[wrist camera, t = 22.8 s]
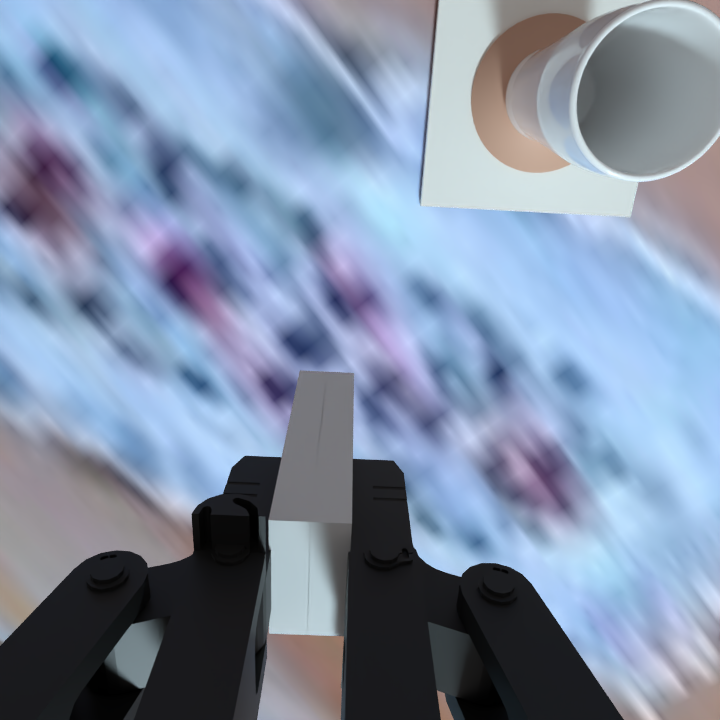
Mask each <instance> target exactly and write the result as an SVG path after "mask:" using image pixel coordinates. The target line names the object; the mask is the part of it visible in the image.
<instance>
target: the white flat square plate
mask: <svg viewBox="0 0 720 720" xmlns="http://www.w3.org/2000/svg"><path fill="white" fill-rule="evenodd" d="M646 1H650V0H438V8H437V19H436V30H435V42H434V53H433V64H432V75H431V86H430V98H429V109H428V120H427V131H426V142H425V154H424V165H423V176H422V187H421V198H420V206H429V207H448V208H467V209H486V210H505V211H523V212H542V213H561V214H580V215H599V216H618V217H631V213H632V208H633V204H634V199H635V195H636V190H637V186H638V182H634V181H625V180H620V179H614V178H609V177H605V176H601V175H597V174H594V173H591V172H588V171H586V170H583V169H581V168H578V167H576V166H574V165H572V164H570V163H569V162H567V161H565V160H564V159H562V158H561V157H559V156H558V155H556V154H555V153H553V152H552V151H550V150H549V149H547V148H546V147H544V146H543V145H541V144H539V143H538V142H536V141H533V140H530V139H528V138H526V137H524V136H523V135H521V134H520V133H519V132H518V131H517V130H516V129H515V128H514V126H513V125H512V123H511V121H510V119H509V117H508V114H507V110H506V102H505V97H506V89H507V85H508V82H509V80H510V77H511V75H512V73H513V72H514V70H515V68H516V67H517V66H518V65H519V63H520V62H521V61H522V60H523V59H524V58H526V57H527V56H528V55H529V54H531V53H533V52H534V51H536V50H538V49H541V48H544V47H547V46H548V45H550V44H552V43H553V42H555V41H557V40H558V39H560V38H561V37H563V36H564V35H566V34H568V33H569V32H571V31H572V30H574V29H576V28H577V27H579V26H580V25H582V24H584V23H585V22H587V21H589V20H591V19H593V18H595V17H597V16H599V15H602V14H604V13H607V12H609V11H612V10H615V9H618V8H621V7H624V6H628V5H632V4H636V3H640V2H646Z"/></svg>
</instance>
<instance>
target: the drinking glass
mask: <svg viewBox="0 0 720 720" xmlns="http://www.w3.org/2000/svg"><path fill="white" fill-rule="evenodd" d="M505 102H506V110H507V114H508V117H509V119H510V121H511V123H512V125H513V126H514V128H515V129H516V130H517V131H518V132H519V133H520V134H521V135H523V136H524V137H526V138H528V139H530V140H533V141H536V142H538V143H539V144H541V145H543V146H544V147H546V148H547V149H549V150H550V151H552V152H553V153H555V154H556V155H558V156H559V157H561V158H562V159H564V160H565V161H567V162H569V163H570V164H572V165H574V166H576V167H578V168H581V169H583V170H586V171H588V172H591V173H594V174H597V175H601V176H605V177H609V178H614V179H620V180H625V181H634V182H643V181H652V180H657V179H661V178H664V177H667V176H670V175H672V174H675V173H677V172H679V171H681V170H683V169H684V168H686V167H688V166H689V165H691V164H692V163H694V162H695V161H696V160H697V159H699V158H700V157H701V156H702V155H703V154H704V153H705V152H706V151H707V150H708V149H709V148H710V147H711V146H712V145H713V144H714V142H715V141H716V140H717V139H718V137H719V136H720V18H719V17H718V16H717V15H716V14H714V13H713V12H712V11H711V10H709V9H708V8H706V7H704V6H702V5H700V4H698V3H696V2H693V1H689V0H650V1H646V2H640V3H636V4H632V5H628V6H624V7H621V8H618V9H615V10H612V11H609V12H607V13H604V14H602V15H599V16H597V17H595V18H593V19H591V20H589V21H587V22H585V23H584V24H582V25H580V26H579V27H577V28H576V29H574V30H572V31H571V32H569V33H568V34H566V35H564V36H563V37H561V38H560V39H558V40H557V41H555V42H553V43H552V44H550V45H548V46H547V47H544V48H541V49H538V50H536V51H534V52H533V53H531V54H529V55H528V56H527V57H526V58H524V59H523V60H522V61H521V62H520V63H519V65H518V66H517V67H516V68H515V70H514V72H513V73H512V75H511V77H510V80H509V82H508V85H507V89H506V97H505Z"/></svg>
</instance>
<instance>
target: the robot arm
mask: <svg viewBox="0 0 720 720" xmlns="http://www.w3.org/2000/svg"><path fill="white" fill-rule="evenodd" d="M353 399H354V373H340V372H319V371H300V373H299V378H298V382H297V387H296V392H295V397H294V401H293V406H292V411H291V416H290V420H289V425H288V430H287V435H286V439H285V444H284V449H283V454H282V457H260V456H244V457H243V458H242V459H241V460H240V461H239V462H238V463H236V464H235V465H234V466H233V467H232V469H231V472H230V475H229V478H228V481H227V484H226V487H225V490H224V492H223V494H221V495H218V496H215V497H212V498H209V499H207V500H205V501H204V502H202V503H201V504H199V505H198V506H197V507H196V508H195V510H194V511H193V513H192V527H193V542H194V552H193V554H192V555H191V556H189V557H187V558H185V559H183V560H180V561H177V562H174V563H170V564H165V565H160V566H155V567H150V568H148V567H147V563H146V562H145V560H144V559H143V558H142V557H141V556H140V555H137V554H135V553H132V552H130V551H110V552H105V553H100V554H98V555H96V556H93V557H91V558H89V559H86V560H85V561H84V562H82V563H81V564H80V565H78V566H77V567H76V568H75V569H74V570H73V571H72V572H71V573H70V574H69V575H68V576H67V577H66V578H65V579H64V580H63V581H62V582H61V583H60V584H59V585H58V586H57V587H56V588H55V589H54V590H53V592H52V593H51V594H50V595H49V596H48V597H47V598H46V599H45V600H44V601H43V602H42V603H41V604H40V605H39V606H38V607H37V608H36V609H35V610H34V611H33V612H32V613H31V614H30V615H29V617H28V618H27V619H26V620H25V621H24V622H23V623H22V624H21V625H20V626H19V627H18V628H17V629H16V630H15V631H14V632H13V633H12V634H11V635H10V636H9V637H8V638H7V639H6V640H5V642H4V643H3V644H2V645H1V646H0V720H257V716H258V709H259V703H260V697H261V690H262V684H263V678H264V671H265V665H266V659H267V632H268V626H269V634H297V635H325V636H344V647H343V664H342V682H341V688H342V703H341V720H441V718H440V711H439V703H438V696H437V690H438V691H441V692H444V693H445V697H446V702H447V704H448V706H449V709H450V711H451V714H452V716H453V719H454V720H624V719H623V718H622V716H621V715H620V714H619V712H618V711H617V709H616V708H615V706H614V705H613V703H612V702H611V700H610V699H609V697H608V696H607V694H606V693H605V691H604V690H603V689H602V687H601V686H600V684H599V683H598V681H597V680H596V678H595V677H594V675H593V674H592V672H591V671H590V669H589V668H588V666H587V665H586V664H585V662H584V661H583V659H582V658H581V656H580V655H579V653H578V652H577V650H576V649H575V647H574V646H573V644H572V643H571V641H570V640H569V638H568V637H567V636H566V634H565V633H564V631H563V630H562V628H561V627H560V625H559V624H558V622H557V621H556V619H555V618H554V616H553V615H552V613H551V612H550V611H549V609H548V608H547V606H546V605H545V603H544V602H543V600H542V599H541V597H540V596H539V594H538V593H537V591H536V590H535V588H534V587H533V586H532V584H531V583H530V582H529V581H528V580H527V579H526V578H525V577H524V576H523V575H522V574H521V573H519V572H517V571H515V570H514V569H512V568H510V567H507V566H503V565H500V564H496V563H481V564H478V565H475V566H472V567H470V568H469V569H467V570H466V571H465V572H464V573H463V574H462V577H459V576H455V575H452V574H448V573H445V572H442V571H440V570H437V569H435V568H433V567H431V566H430V565H428V564H426V563H425V562H424V561H423V560H422V559H421V558H420V557H419V556H418V554H417V551H416V549H415V548H414V547H413V544H412V537H411V529H410V521H409V513H408V504H407V496H406V490H405V480H404V473H403V472H402V471H401V469H400V468H399V467H398V466H397V465H396V463H395V462H394V461H388V460H365V459H353Z"/></svg>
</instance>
